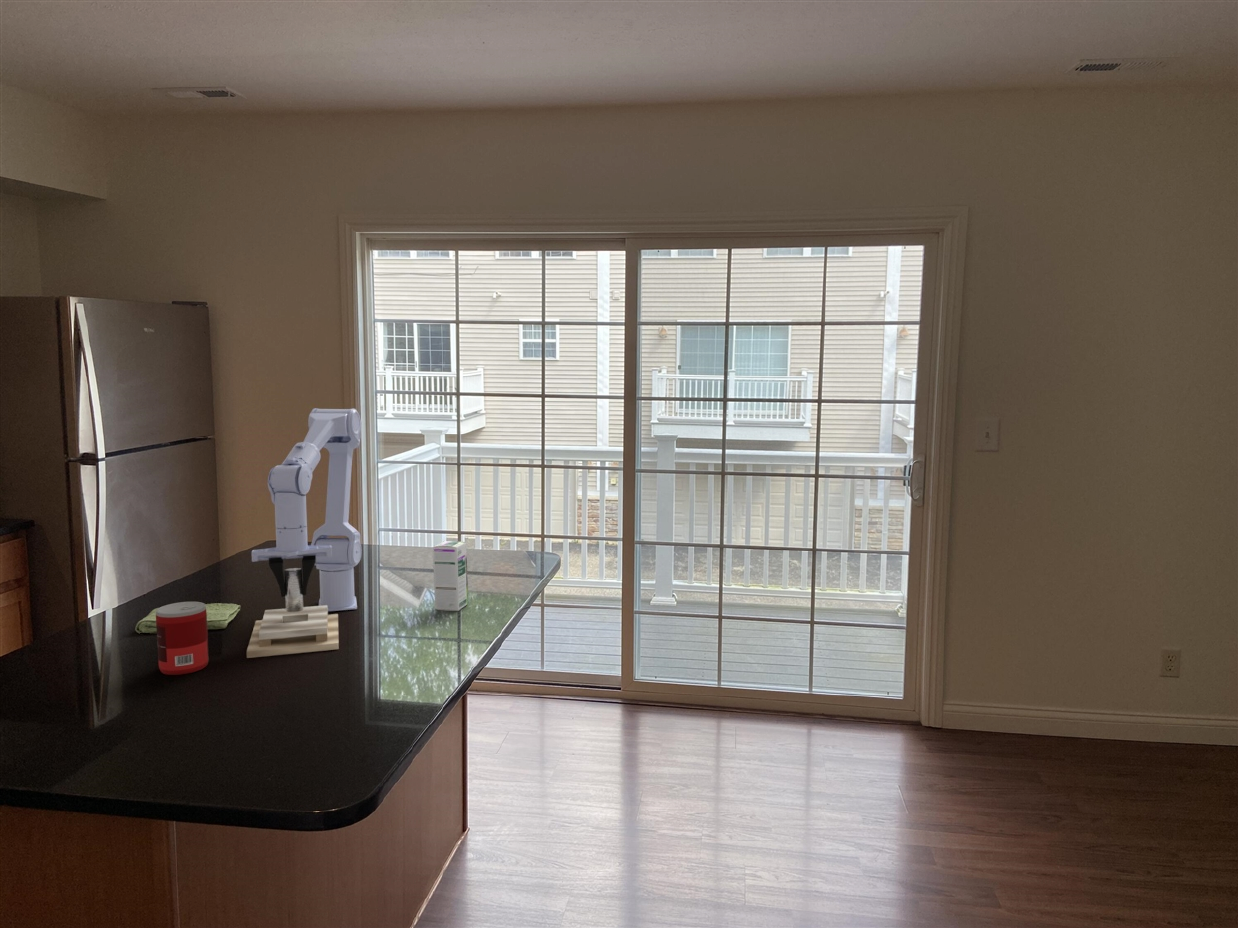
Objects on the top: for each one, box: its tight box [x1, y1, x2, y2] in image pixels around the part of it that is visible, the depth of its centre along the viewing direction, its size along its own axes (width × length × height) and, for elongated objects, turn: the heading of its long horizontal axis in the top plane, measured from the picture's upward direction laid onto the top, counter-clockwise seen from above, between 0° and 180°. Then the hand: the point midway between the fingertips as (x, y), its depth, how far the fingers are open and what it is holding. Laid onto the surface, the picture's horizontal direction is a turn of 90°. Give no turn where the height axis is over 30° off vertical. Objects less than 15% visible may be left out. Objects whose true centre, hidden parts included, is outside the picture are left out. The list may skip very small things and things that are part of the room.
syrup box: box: [432, 540, 469, 612], centre depth 187 cm, size 6×6×14 cm
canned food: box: [156, 601, 210, 676], centre depth 149 cm, size 8×8×11 cm
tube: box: [284, 567, 304, 612], centre depth 165 cm, size 3×3×8 cm
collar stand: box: [246, 605, 340, 659], centre depth 166 cm, size 20×16×4 cm
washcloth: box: [134, 602, 241, 634], centre depth 175 cm, size 13×18×3 cm
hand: (294, 594), depth 165 cm, fingers closed on tube, 3 cm apart
